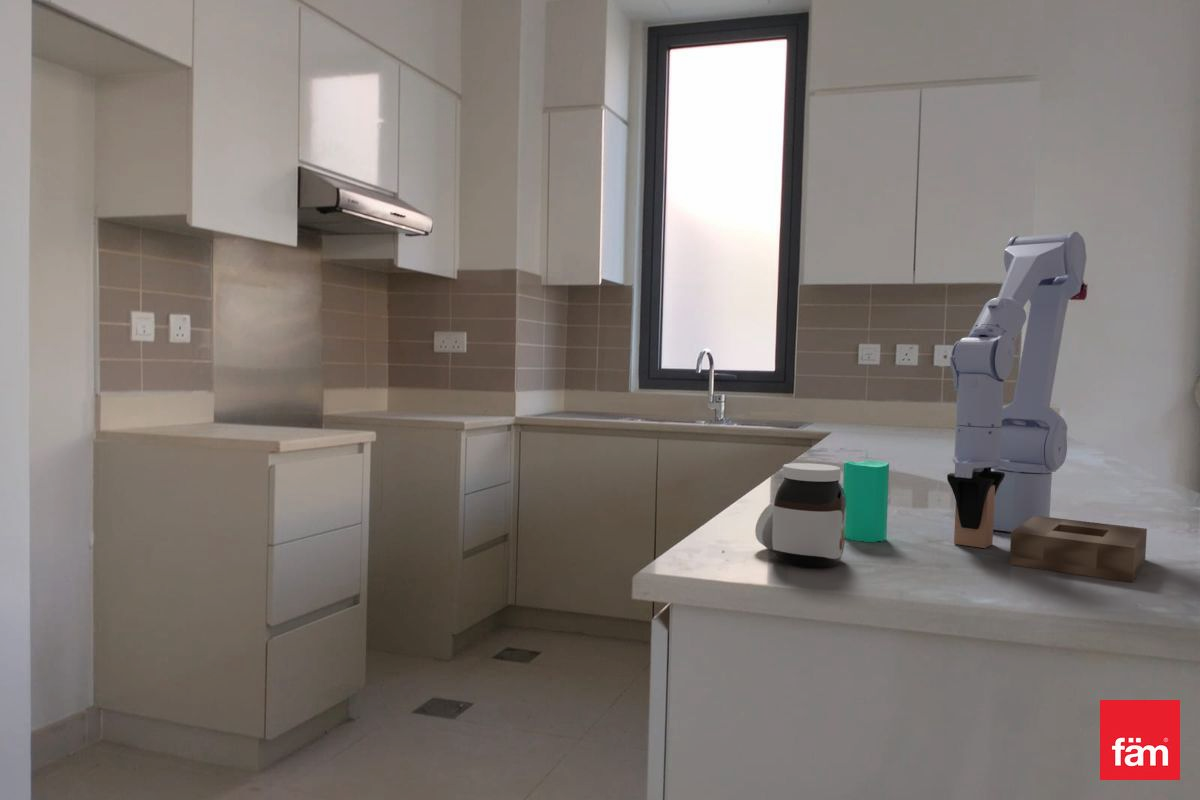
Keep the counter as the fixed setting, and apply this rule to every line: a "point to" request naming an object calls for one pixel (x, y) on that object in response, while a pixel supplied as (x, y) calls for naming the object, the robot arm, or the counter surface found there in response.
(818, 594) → the counter surface
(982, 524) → the peg
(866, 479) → the candle
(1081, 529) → the socket block
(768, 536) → the spread jar
